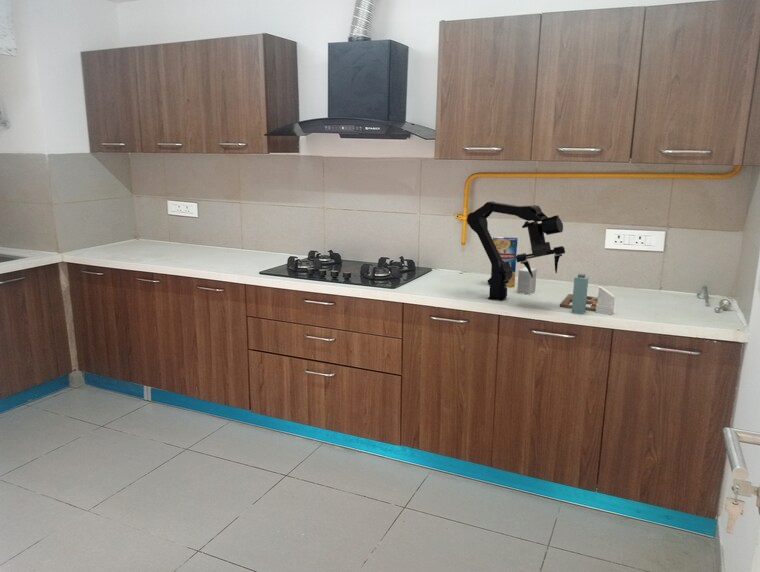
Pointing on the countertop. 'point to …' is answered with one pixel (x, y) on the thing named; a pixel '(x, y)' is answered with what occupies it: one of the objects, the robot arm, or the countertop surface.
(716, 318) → the countertop surface
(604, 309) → the white wedge bracket
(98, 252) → the countertop surface
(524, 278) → the small box
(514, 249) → the beverage box
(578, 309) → the teal tall rectangular block
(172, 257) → the countertop surface
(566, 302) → the socket board
